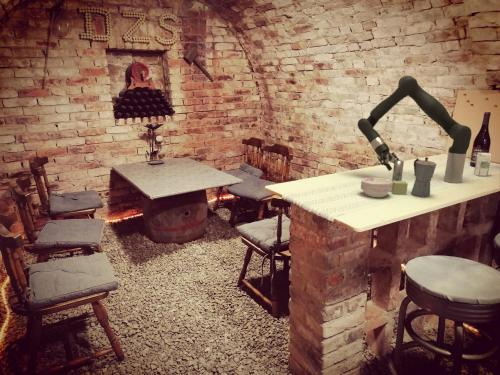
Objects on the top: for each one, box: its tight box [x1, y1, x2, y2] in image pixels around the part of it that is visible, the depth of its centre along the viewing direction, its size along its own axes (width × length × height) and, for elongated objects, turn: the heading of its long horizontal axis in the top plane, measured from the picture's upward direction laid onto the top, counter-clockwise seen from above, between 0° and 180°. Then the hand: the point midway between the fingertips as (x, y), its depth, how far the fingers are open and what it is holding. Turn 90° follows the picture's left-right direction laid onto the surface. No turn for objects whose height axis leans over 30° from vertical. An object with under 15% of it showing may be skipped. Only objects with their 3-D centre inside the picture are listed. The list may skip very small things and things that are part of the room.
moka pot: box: [411, 157, 437, 198], centre depth 181 cm, size 10×15×20 cm, turn 16°
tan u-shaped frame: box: [390, 180, 409, 196], centre depth 191 cm, size 16×10×6 cm, turn 171°
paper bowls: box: [360, 177, 393, 198], centre depth 182 cm, size 15×15×8 cm
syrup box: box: [473, 152, 492, 177], centre depth 225 cm, size 6×6×14 cm
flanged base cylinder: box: [391, 159, 405, 181], centre depth 200 cm, size 6×6×14 cm
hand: (395, 169), depth 201 cm, fingers open, 8 cm apart
